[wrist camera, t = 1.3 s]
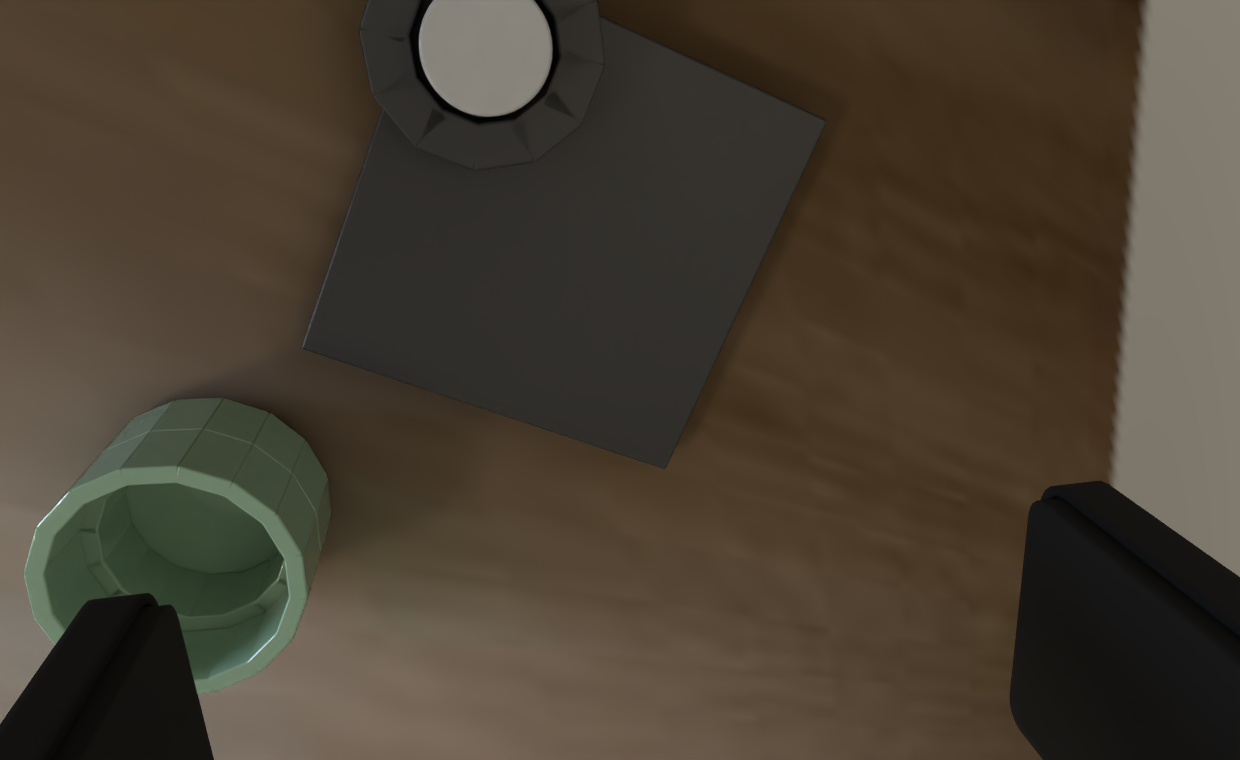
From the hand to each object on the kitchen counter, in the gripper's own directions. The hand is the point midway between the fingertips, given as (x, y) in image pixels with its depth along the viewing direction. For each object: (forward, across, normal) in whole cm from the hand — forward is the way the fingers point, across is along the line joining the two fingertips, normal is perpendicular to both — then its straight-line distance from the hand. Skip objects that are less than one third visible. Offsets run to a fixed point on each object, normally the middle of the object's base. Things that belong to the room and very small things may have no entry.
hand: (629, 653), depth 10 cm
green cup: (+20, +11, +7) cm, 24 cm away
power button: (+18, +1, -6) cm, 19 cm away
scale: (+20, -1, -1) cm, 21 cm away
